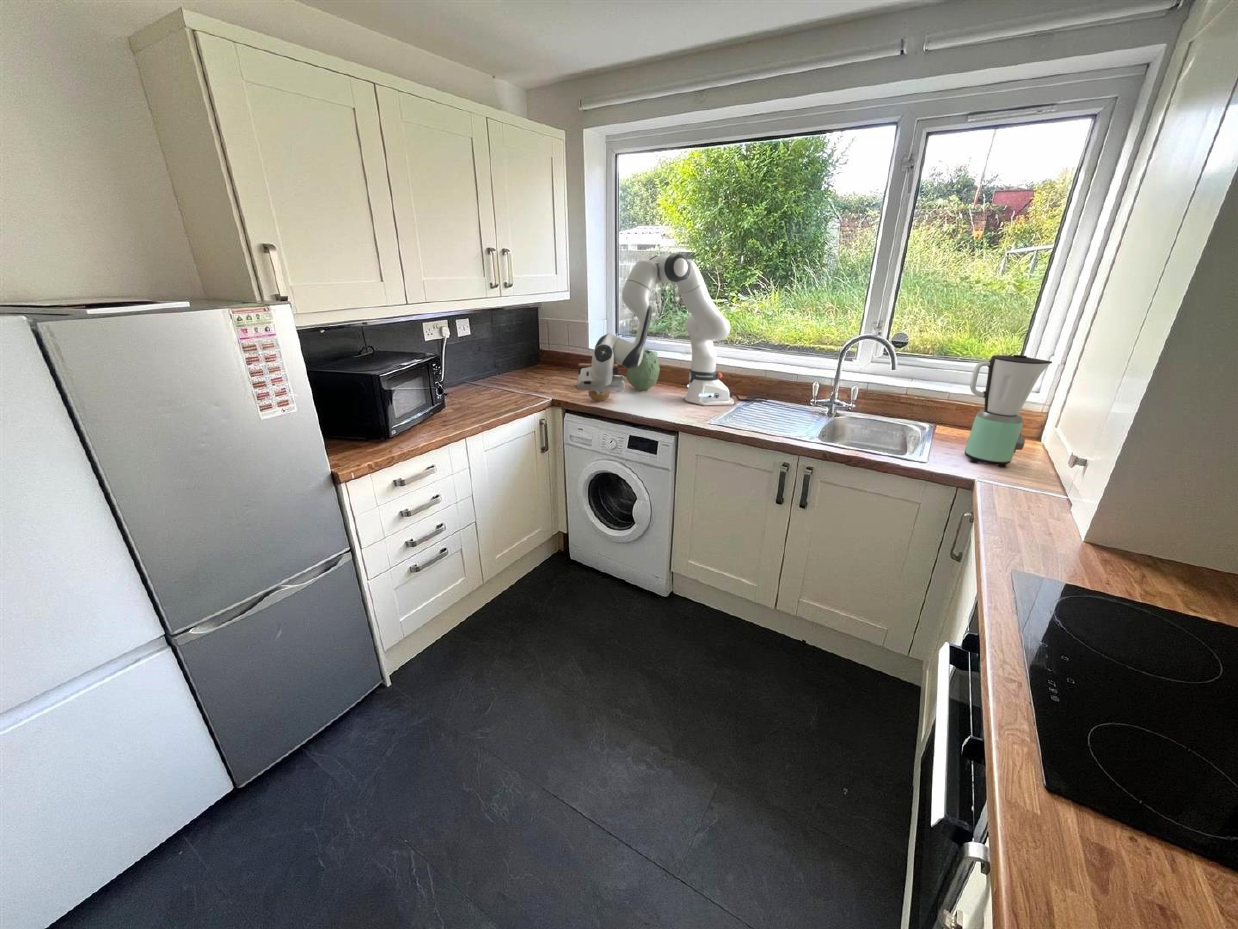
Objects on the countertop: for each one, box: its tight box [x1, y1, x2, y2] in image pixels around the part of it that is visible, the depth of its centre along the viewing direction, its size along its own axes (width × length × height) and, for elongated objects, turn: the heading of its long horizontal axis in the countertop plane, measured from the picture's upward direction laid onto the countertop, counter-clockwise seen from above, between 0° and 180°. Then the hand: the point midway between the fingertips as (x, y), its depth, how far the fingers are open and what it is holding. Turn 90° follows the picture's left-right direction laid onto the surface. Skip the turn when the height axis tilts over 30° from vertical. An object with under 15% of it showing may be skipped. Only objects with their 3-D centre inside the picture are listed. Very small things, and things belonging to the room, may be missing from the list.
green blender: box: [964, 354, 1053, 469], centre depth 161 cm, size 19×13×35 cm
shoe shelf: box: [578, 362, 619, 376], centre depth 250 cm, size 20×9×11 cm, turn 94°
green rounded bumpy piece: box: [626, 347, 661, 392], centre depth 245 cm, size 16×19×20 cm
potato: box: [587, 391, 612, 402], centre depth 225 cm, size 10×14×8 cm
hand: (600, 393), depth 216 cm, fingers closed
